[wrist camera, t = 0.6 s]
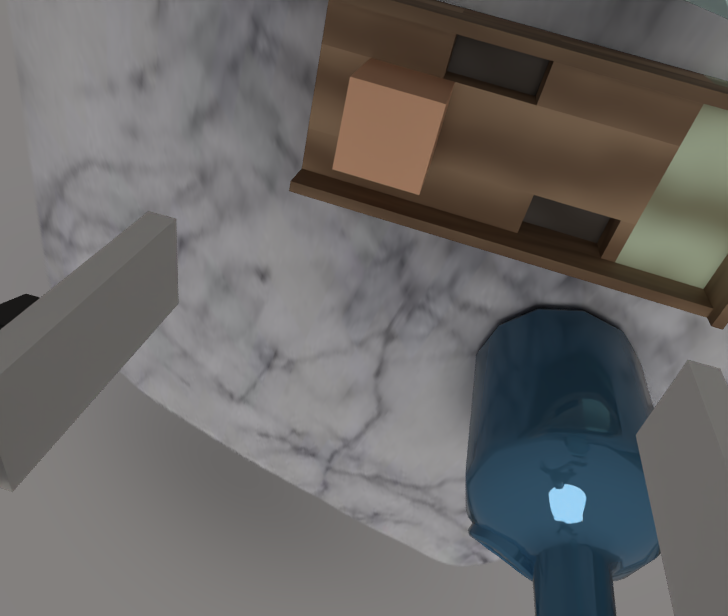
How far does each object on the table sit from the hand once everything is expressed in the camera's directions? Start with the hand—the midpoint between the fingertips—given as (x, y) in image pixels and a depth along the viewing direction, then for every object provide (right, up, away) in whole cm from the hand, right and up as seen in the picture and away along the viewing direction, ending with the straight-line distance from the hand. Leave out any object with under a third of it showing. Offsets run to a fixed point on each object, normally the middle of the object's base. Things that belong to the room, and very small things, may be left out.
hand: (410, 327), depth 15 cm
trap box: (+10, +12, +24) cm, 29 cm away
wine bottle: (+15, -4, +34) cm, 37 cm away
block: (+1, +13, +23) cm, 26 cm away
